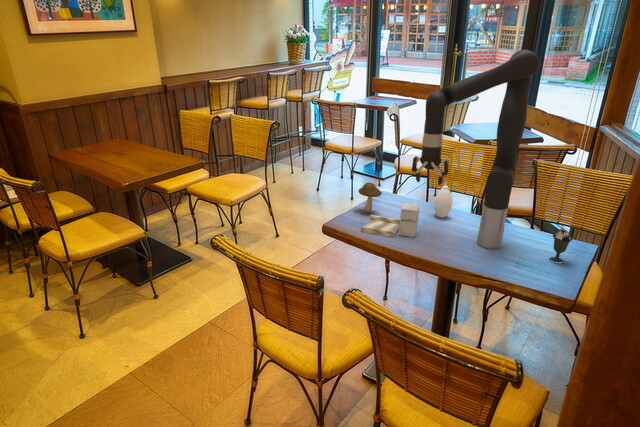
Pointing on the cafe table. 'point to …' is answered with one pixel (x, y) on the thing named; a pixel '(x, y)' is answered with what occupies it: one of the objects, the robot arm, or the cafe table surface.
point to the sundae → (560, 244)
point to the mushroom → (369, 194)
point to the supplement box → (409, 219)
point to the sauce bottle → (443, 202)
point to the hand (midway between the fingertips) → (428, 183)
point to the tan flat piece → (381, 226)
